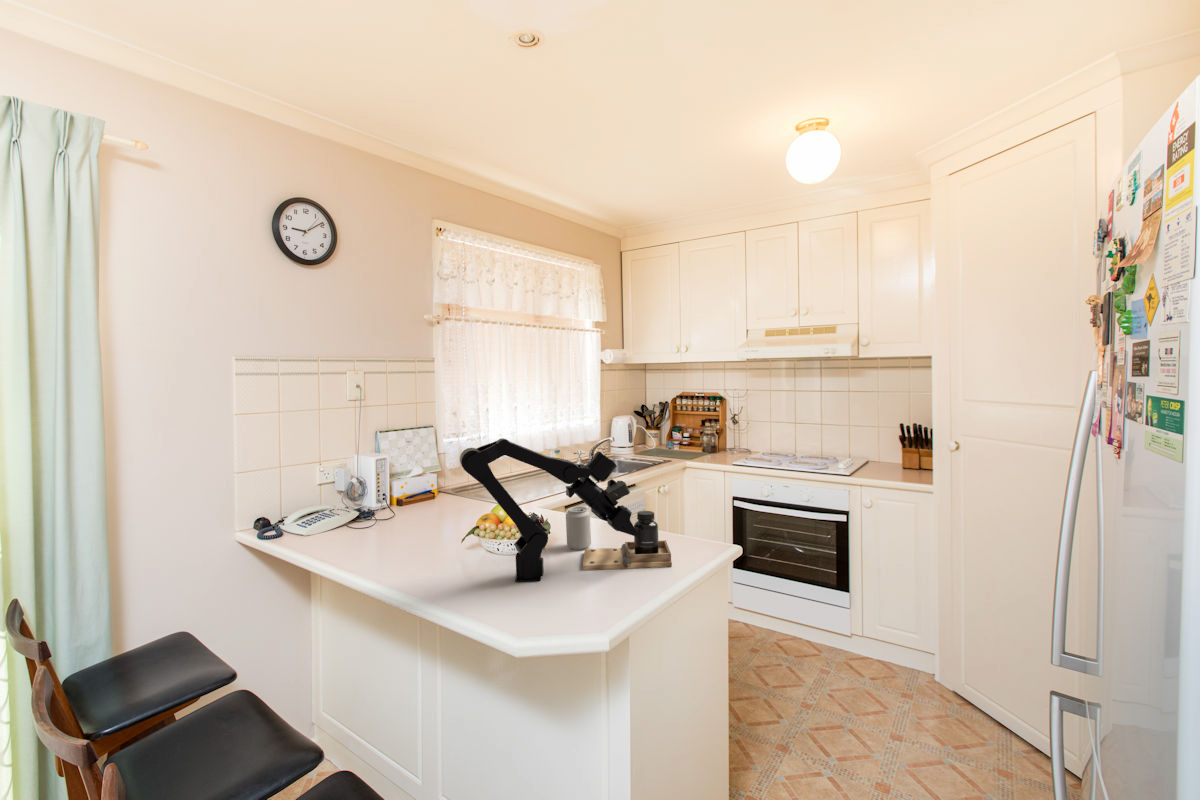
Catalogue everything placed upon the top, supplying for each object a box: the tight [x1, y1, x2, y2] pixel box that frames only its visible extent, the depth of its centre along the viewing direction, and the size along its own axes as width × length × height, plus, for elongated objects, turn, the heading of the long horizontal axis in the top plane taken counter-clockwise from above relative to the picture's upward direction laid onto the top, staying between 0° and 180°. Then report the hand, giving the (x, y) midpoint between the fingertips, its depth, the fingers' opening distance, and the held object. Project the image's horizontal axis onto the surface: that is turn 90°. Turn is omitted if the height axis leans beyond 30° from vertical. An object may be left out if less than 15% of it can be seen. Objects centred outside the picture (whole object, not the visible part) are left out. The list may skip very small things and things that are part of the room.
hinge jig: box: [582, 539, 673, 571], centre depth 150 cm, size 24×14×3 cm, turn 89°
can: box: [565, 506, 592, 551], centre depth 163 cm, size 8×8×12 cm
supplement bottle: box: [633, 510, 659, 554], centre depth 150 cm, size 7×7×12 cm
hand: (630, 530), depth 148 cm, fingers open, 9 cm apart
